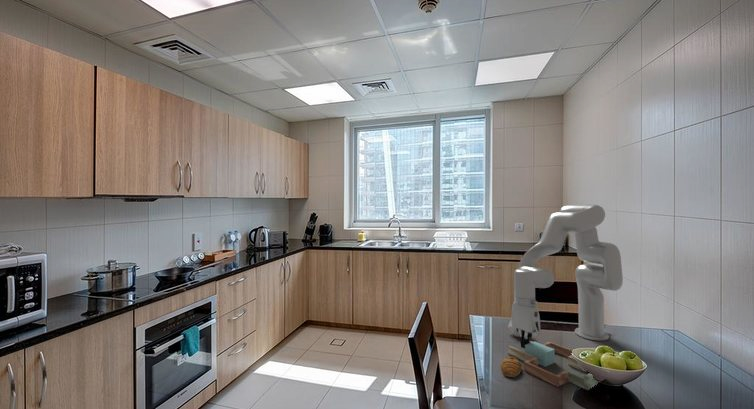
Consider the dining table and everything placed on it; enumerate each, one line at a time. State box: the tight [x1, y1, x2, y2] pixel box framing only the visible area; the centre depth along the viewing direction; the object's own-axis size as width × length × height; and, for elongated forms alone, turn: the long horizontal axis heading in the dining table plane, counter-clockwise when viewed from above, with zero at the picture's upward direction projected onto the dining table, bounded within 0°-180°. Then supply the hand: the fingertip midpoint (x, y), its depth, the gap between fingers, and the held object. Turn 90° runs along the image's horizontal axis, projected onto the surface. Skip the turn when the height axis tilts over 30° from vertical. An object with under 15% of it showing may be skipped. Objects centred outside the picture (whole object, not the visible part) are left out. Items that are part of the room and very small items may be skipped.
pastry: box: [500, 356, 523, 378], centre depth 110 cm, size 9×7×4 cm
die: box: [507, 319, 520, 338], centre depth 141 cm, size 8×9×10 cm
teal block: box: [524, 341, 556, 367], centre depth 118 cm, size 6×8×5 cm
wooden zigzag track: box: [507, 340, 599, 391], centre depth 114 cm, size 24×29×4 cm
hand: (525, 347), depth 123 cm, fingers closed
